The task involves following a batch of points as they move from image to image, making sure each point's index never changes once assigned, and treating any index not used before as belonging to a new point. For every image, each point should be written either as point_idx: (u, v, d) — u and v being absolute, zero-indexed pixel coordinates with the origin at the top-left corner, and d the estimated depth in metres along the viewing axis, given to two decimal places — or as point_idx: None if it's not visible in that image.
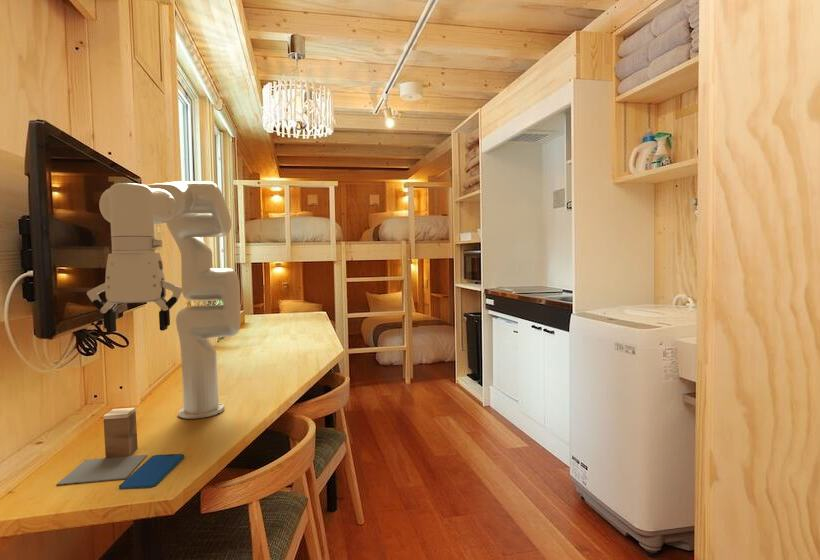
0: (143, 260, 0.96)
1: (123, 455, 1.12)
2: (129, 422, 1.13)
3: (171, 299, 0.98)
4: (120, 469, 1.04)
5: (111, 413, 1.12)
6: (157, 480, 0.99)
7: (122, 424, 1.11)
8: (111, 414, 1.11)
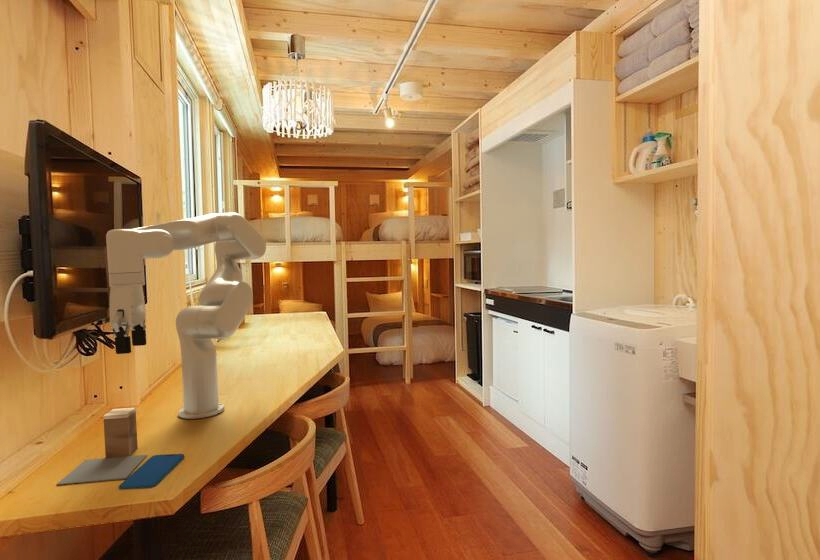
0: (142, 290, 1.21)
1: (123, 455, 1.12)
2: (129, 422, 1.13)
3: None
4: (120, 469, 1.04)
5: (111, 413, 1.12)
6: (157, 480, 0.99)
7: (122, 424, 1.11)
8: (111, 414, 1.11)
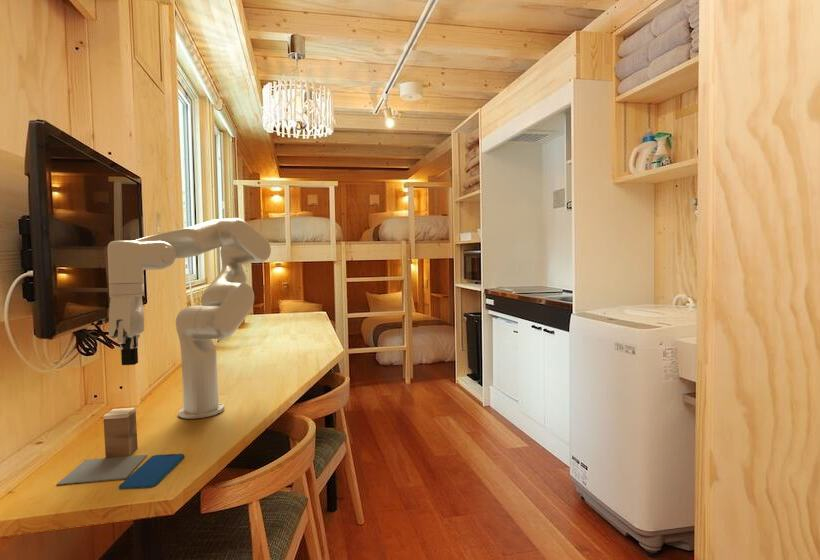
0: (141, 301, 1.23)
1: (123, 455, 1.12)
2: (129, 422, 1.13)
3: None
4: (120, 469, 1.04)
5: (111, 413, 1.12)
6: (157, 480, 0.99)
7: (122, 424, 1.11)
8: (111, 414, 1.11)
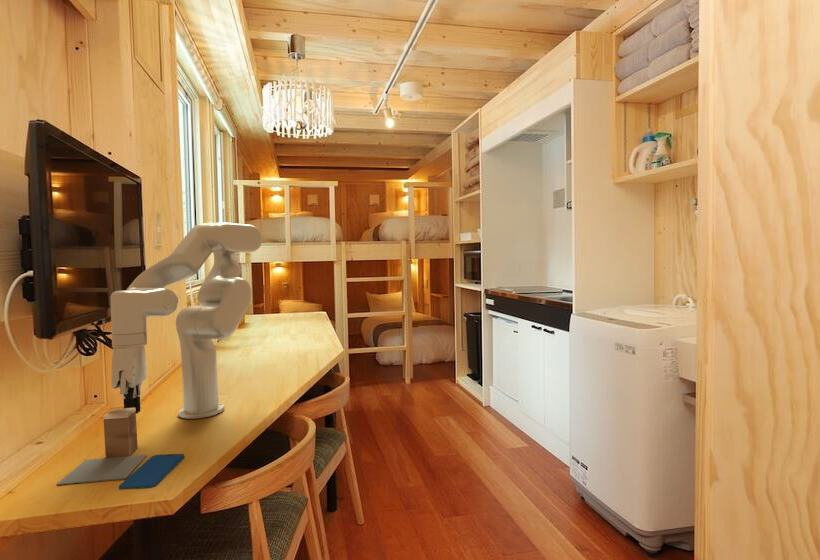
0: (143, 349, 1.23)
1: (123, 455, 1.12)
2: (129, 422, 1.13)
3: None
4: (120, 469, 1.04)
5: (111, 413, 1.12)
6: (157, 480, 0.99)
7: (122, 424, 1.11)
8: (111, 414, 1.11)
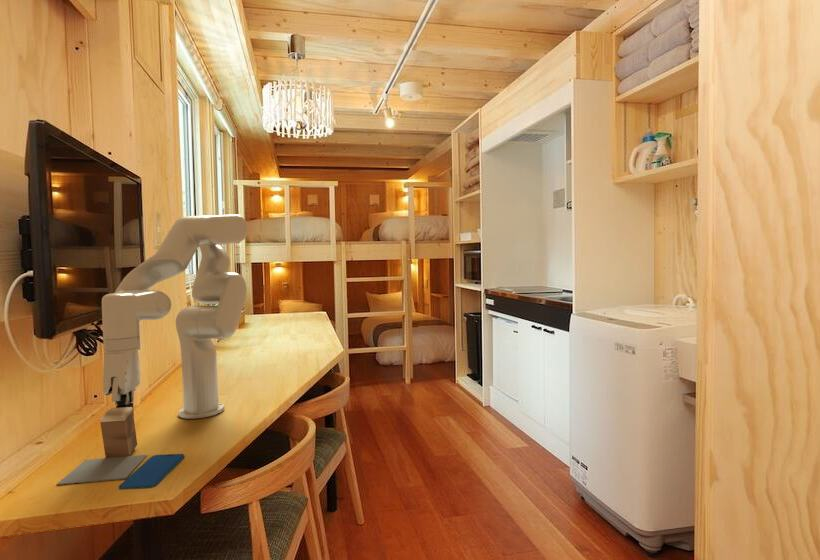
0: (137, 354, 1.19)
1: (123, 455, 1.12)
2: (127, 424, 1.11)
3: None
4: (120, 469, 1.04)
5: (108, 415, 1.10)
6: (157, 480, 0.99)
7: (120, 426, 1.10)
8: (108, 417, 1.10)
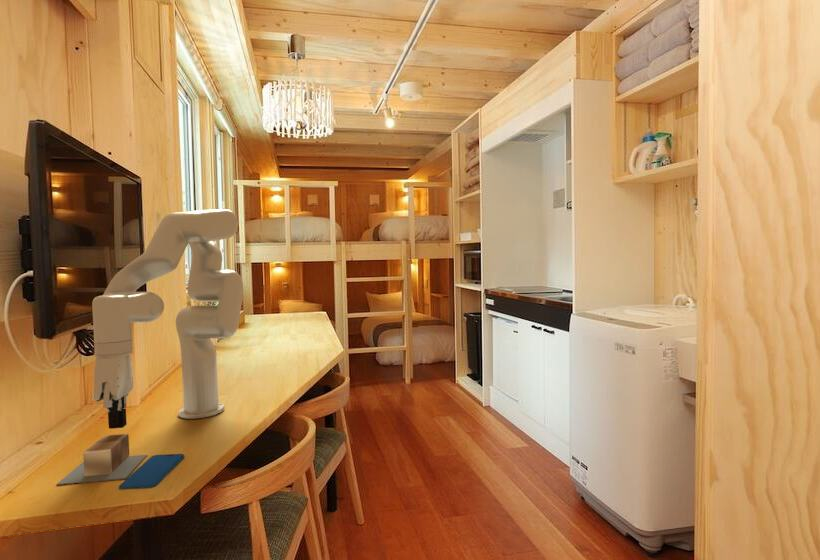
0: (129, 358, 1.14)
1: None
2: (115, 464, 1.04)
3: None
4: (120, 469, 1.04)
5: (90, 469, 1.02)
6: (157, 480, 0.99)
7: None
8: (92, 473, 1.02)
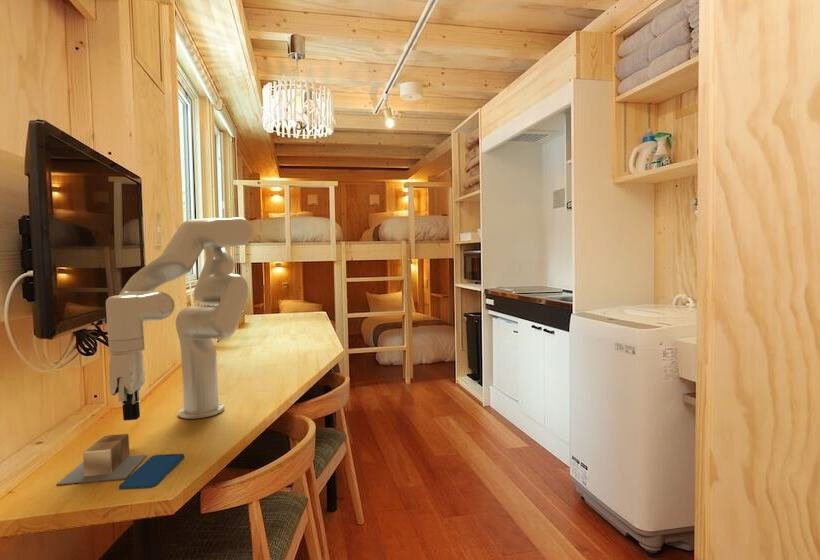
0: (141, 354, 1.21)
1: None
2: (115, 464, 1.04)
3: None
4: (120, 469, 1.04)
5: (90, 469, 1.02)
6: (157, 480, 0.99)
7: None
8: (92, 473, 1.02)
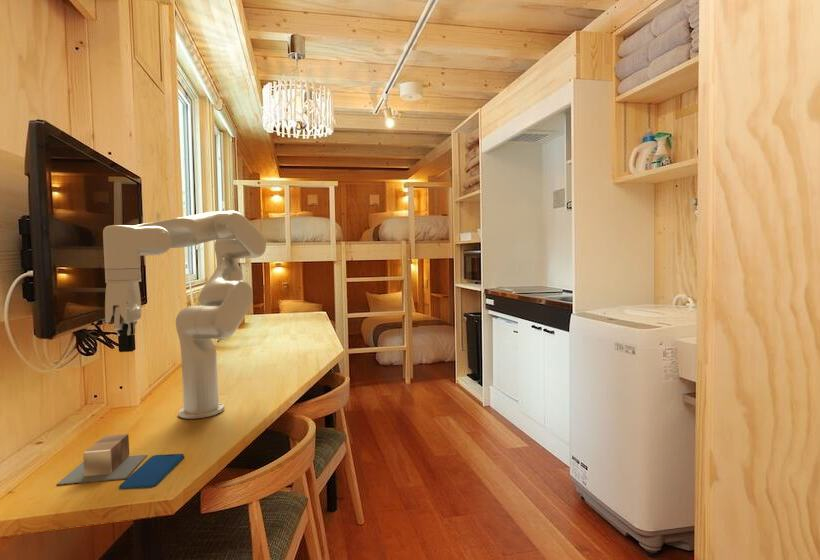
0: (138, 287, 1.21)
1: None
2: (115, 464, 1.04)
3: None
4: (120, 469, 1.04)
5: (90, 469, 1.02)
6: (157, 480, 0.99)
7: None
8: (92, 473, 1.02)
